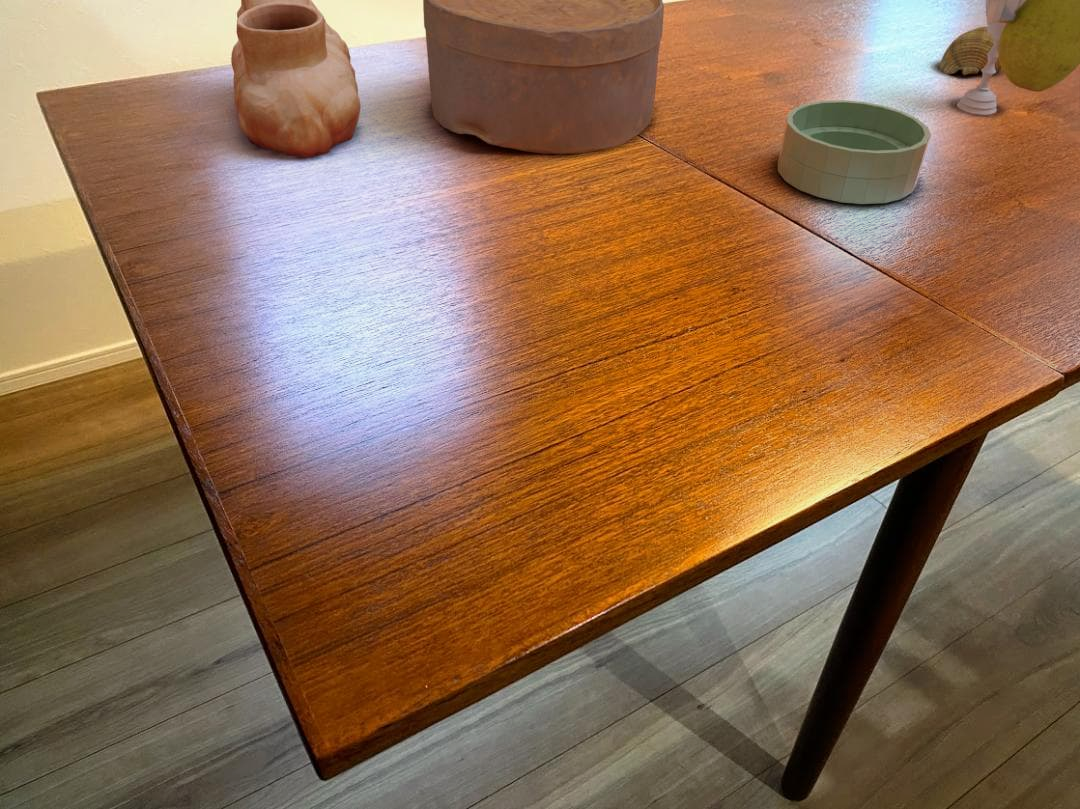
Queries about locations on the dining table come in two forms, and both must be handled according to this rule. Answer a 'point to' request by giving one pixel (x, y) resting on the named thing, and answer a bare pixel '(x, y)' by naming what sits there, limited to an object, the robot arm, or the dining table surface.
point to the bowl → (852, 151)
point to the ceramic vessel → (292, 79)
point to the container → (544, 70)
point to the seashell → (968, 53)
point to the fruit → (1041, 43)
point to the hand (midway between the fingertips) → (1048, 23)
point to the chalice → (985, 76)
